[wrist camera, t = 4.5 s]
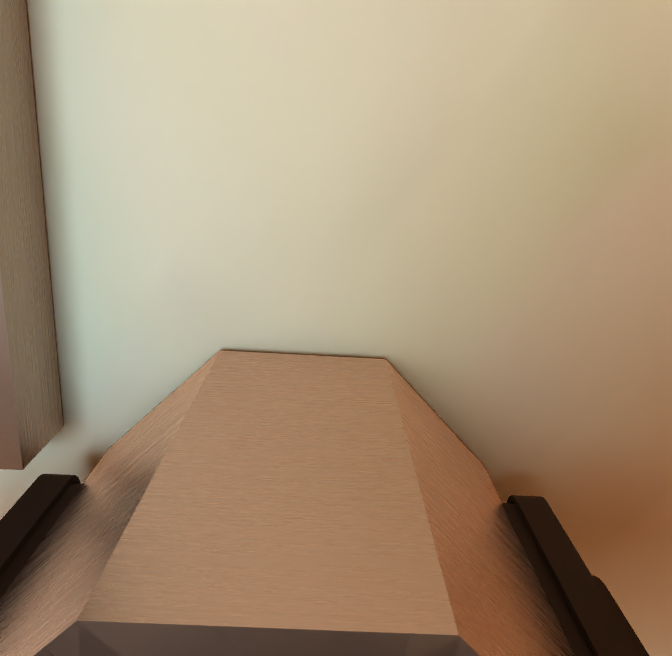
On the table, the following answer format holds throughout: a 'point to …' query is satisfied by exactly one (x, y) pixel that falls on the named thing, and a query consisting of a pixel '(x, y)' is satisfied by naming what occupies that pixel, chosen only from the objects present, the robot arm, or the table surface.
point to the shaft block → (23, 261)
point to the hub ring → (284, 530)
